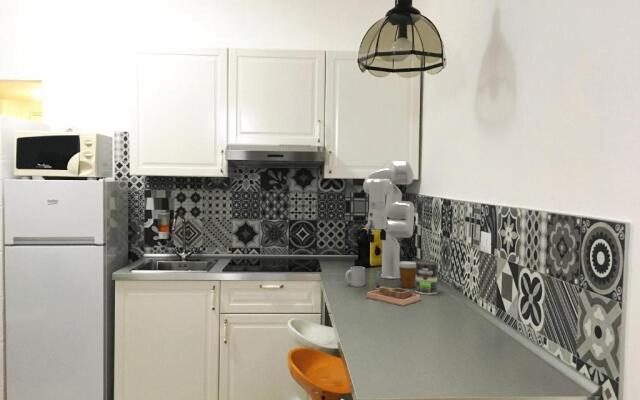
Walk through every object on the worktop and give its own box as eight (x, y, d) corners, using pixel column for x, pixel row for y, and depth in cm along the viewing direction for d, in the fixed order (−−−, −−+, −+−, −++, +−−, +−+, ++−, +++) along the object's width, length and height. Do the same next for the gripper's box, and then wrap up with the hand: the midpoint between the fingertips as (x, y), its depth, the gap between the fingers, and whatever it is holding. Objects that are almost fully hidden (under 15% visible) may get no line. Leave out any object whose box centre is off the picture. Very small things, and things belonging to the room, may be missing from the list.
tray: (384, 293, 218) (384, 287, 218) (420, 300, 205) (420, 294, 205) (366, 298, 209) (366, 292, 208) (403, 306, 195) (403, 300, 195)
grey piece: (377, 287, 230) (377, 270, 230) (384, 288, 227) (384, 271, 227) (372, 288, 227) (372, 271, 227) (379, 290, 224) (379, 272, 224)
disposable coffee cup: (420, 286, 234) (421, 262, 233) (410, 289, 226) (411, 264, 226) (404, 283, 240) (404, 260, 239) (394, 286, 233) (394, 262, 232)
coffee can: (436, 295, 215) (436, 265, 214) (413, 293, 218) (414, 263, 218) (438, 290, 224) (439, 261, 224) (416, 288, 228) (417, 260, 227)
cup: (366, 286, 232) (366, 268, 232) (347, 287, 230) (347, 269, 230) (362, 283, 239) (362, 266, 239) (343, 284, 237) (343, 266, 237)
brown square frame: (412, 299, 205) (412, 290, 205) (402, 302, 199) (402, 293, 199) (385, 294, 214) (385, 285, 214) (375, 297, 209) (375, 288, 208)
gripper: (372, 207, 213) (372, 244, 214) (394, 204, 226) (393, 239, 227) (359, 206, 218) (359, 242, 219) (381, 203, 231) (381, 238, 232)
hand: (377, 241), depth 223 cm, fingers open, 9 cm apart
